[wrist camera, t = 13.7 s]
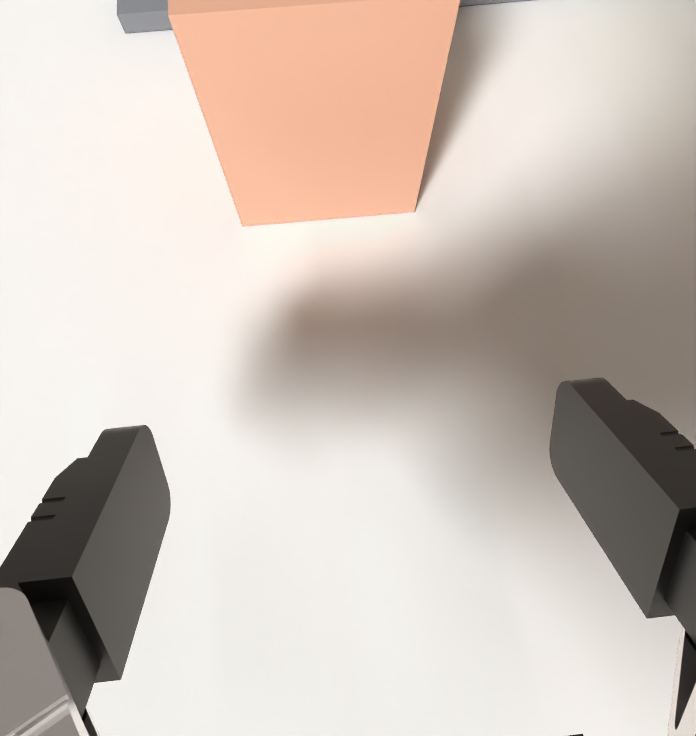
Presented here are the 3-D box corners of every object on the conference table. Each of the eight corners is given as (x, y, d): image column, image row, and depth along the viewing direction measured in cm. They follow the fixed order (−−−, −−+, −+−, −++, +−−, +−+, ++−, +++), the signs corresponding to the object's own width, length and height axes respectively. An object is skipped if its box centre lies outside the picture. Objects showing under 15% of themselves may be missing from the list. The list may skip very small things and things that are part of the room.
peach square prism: (242, 226, 18) (168, 14, 11) (235, 85, 20) (167, -184, 12) (414, 211, 19) (461, -7, 11) (393, 73, 20) (422, -200, 13)
